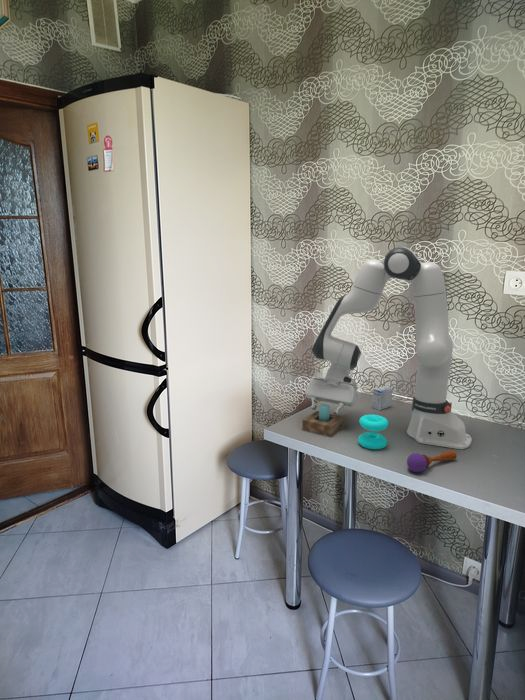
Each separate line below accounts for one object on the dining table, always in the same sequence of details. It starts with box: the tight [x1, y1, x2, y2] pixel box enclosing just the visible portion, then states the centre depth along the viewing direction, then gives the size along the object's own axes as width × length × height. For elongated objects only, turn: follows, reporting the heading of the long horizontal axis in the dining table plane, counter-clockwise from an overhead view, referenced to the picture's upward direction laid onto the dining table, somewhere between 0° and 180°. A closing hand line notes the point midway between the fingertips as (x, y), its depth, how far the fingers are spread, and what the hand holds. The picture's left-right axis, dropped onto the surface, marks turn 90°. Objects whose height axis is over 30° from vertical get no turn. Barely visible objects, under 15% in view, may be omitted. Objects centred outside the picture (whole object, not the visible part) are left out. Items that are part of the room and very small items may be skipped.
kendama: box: [406, 449, 457, 474], centre depth 148 cm, size 6×6×20 cm
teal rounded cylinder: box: [318, 404, 331, 422], centre depth 177 cm, size 4×4×9 cm
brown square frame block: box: [301, 410, 345, 438], centre depth 178 cm, size 12×12×4 cm
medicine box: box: [371, 385, 393, 411], centre depth 201 cm, size 8×4×9 cm, turn 130°
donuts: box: [357, 413, 389, 450], centre depth 163 cm, size 10×10×10 cm
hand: (324, 411), depth 176 cm, fingers open, 8 cm apart
